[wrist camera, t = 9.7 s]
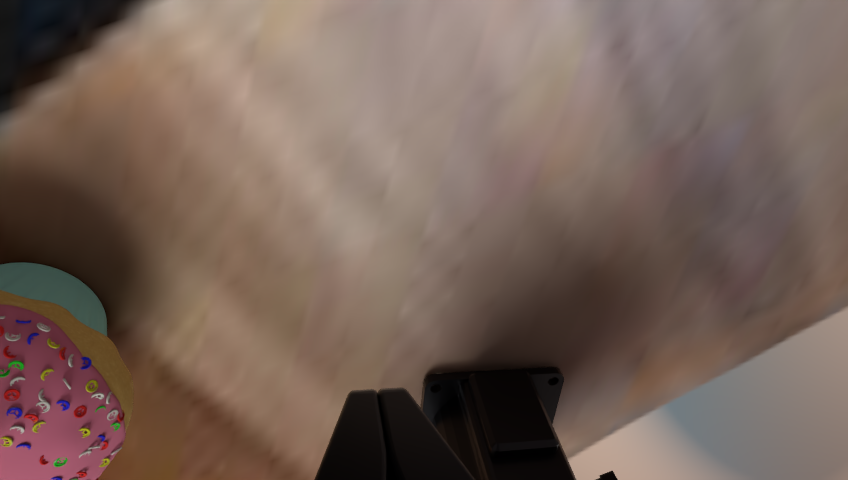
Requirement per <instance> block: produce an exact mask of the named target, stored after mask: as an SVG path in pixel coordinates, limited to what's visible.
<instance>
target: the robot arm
mask: <svg viewBox="0 0 848 480" xmlns="http://www.w3.org/2000/svg"><path fill="white" fill-rule="evenodd" d="M553 377H554V378H553ZM551 378H552V379H551ZM563 382H564V377H563V375H562V373H561V371H560V370H559V369H558V368H556V367H547V368H530V369H512V370H495V371H478V372H460V373H443V374H433V375H430V376H428V377H427V378H426V379H425V380H424V382H423V391H422V400H421V408H420V407H419V405H418V404H417V403H416V402H415V400H414V399H413V398H412V396H411V395H410V394H409V392H408V391H407V390H406V389H404V388H386V389H380V390H379V391H378V393H377V392H376V391H375V390H373V389H370V390H354V391H351V392H350V393H349V394H348V396H347V398H346V401H345V404H344V406H343V409H342V411H341V414H340V416H339V419H338V421H337V424H336V426H335V429H334V432H333V434H332V437H331V439H330V442H329V444H328V447H327V449H326V452H325V454H324V457H323V460H322V462H321V465H320V467H319V470H318V472H317V475H316V477H315V480H576V478H575V476H574V473H573V471H572V469H571V467H570V464H569V462H568V460H567V457H566V455H565V453H564V451H563V448H562V446H561V444H560V441H559V439H558V437H557V435H556V432H555V430H554V428H553V425H552V423H553V419H554V416H555V412H556V408H557V404H558V401H559V397H560V393H561V389H562V386H563ZM436 384H437V386H433V385H436ZM596 480H617V478H616V476H615V474H614V472H613V471H610V472H608V473H605V474H603V475H600V478H599V479H596Z"/></svg>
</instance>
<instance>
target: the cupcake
mask: <svg viewBox="0 0 848 480" xmlns="http://www.w3.org/2000/svg"><path fill="white" fill-rule="evenodd" d="M133 398H134V389H133V381H132V376H131V374H130V372H129V370H128V368H127V367H126V365H125V364H124V362H123V361H122V359H121V357H120V355H119V353H118V351H117V348H116V346H115V345H114V343H113V342H112V341H111V340H110V339H109V338H108V337H107V318H106V314H105V310H104V308H103V306H102V304H101V302H100V300H99V299H98V297H97V296H96V295H95V293H94V292H93V291H92V290H91V289H90V288H89V287H88V286H87V285H85V284H84V283H83V282H81V281H80V280H79V279H77V278H75V277H74V276H72V275H70V274H68V273H66V272H64V271H62V270H59V269H56V268H53V267H50V266H46V265H42V264H36V263H25V262H17V263H7V264H1V265H0V480H98V477H99V476H100V475H101V473H102V472H103V471H104V470H105V468H106V467H107V466H108V464H109V463H110V462H111V461H112V459H113V458H114V457H115V455H116V454H117V452H118V451H119V450H120V449H122V447H121V446H122V444H123V442H124V439H125V435H126V429H127V427H128V424H129V421H130V418H131V414H132V408H133Z"/></svg>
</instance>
